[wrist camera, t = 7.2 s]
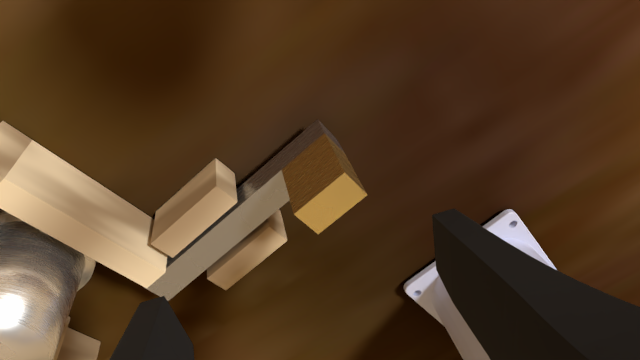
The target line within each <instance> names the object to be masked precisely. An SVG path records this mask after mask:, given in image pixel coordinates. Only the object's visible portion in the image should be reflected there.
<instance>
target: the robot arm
mask: <svg viewBox="0 0 640 360" xmlns="http://www.w3.org/2000/svg"><path fill="white" fill-rule="evenodd" d="M432 219H433V233H434V246H435V260H436V261H435V262H433V263H432V264H430V265H429V266H428V267H426V268H425V269H424V270H422V271H421V272H419V273H418V274H417V275H415V276H414V277H413V278H411V279H410V280H408V281H407V282H406V283H405V284H404V290H405V292H406V294H407V295H408V296H410V297H411V298H412V299H413V300H414V301H415V302H417V303H418V304H419V305H420V306H421V307H422V308H424V309H425V310H426V311H427V312H428V313H429V314H431V315H432V316H433V317H434V318H435V319H436V320H438V321H439V322H440V323H441V324H442V325H443V326H445V328H446V330H447V332H448V333H449V335H450V337H451V339H452V341H453V342H454V344H455V346H456V348H457V349H458V351H459V353H460V355H461V357H462V358H463V360H640V307H638V306H635V305H633V304H630V303H628V302H625V301H623V300H620V299H618V298H615V297H613V296H611V295H608V294H606V293H604V292H602V291H599V290H597V289H595V288H593V287H590V286H588V285H586V284H584V283H581V282H579V281H577V280H575V279H573V278H571V277H569V276H567V275H565V274H563V273H561V272H559V271H557V269H556V268H555V267H554V265H553V264H552V262H551V261H550V260H549V258H548V257H547V255H546V254H545V253H544V251H543V250H542V248H541V247H540V246H539V244H538V243H537V242H536V240H535V239H534V237H533V236H532V235H531V233H530V232H529V230H528V229H527V228H526V226H525V225H524V223H523V222H522V221H521V219H520V218H519V216H518V215H517V214H516V213H515V212H514V211H513V210H511V209H508V210H505V211H503V212H502V213H500V214H499V215H498V216H496V217H495V218H493V219H492V220H491V221H489V222H488V223H487V224H485V225H484V226H481V225H479V224H477V223H476V222H474V221H473V220H471V219H470V218H468V217H467V216H465V215H464V214H462V213H460V212H459V211H457V210H455V209H451V210H448V211H444V212H441V213H438V214H434V215H432ZM110 360H194V350H193V344H192V342H191V340H190V339H189V337H188V335H187V334H186V332H185V330H184V329H183V327H182V325H181V323H180V322H179V320H178V318H177V317H176V315H175V313H174V312H173V310H172V308H171V307H170V305H169V303H168V301H167V300H166V298H165V296H162V297H159V298H155V299H152V300H149V301H145V302H142V303H140V305H139V307H138V308H137V310H136V312H135V314H134V315H133V317H132V319H131V321H130V323H129V325H128V327H127V328H126V330H125V332H124V334H123V336H122V338H121V340H120V341H119V343H118V345H117V347H116V349H115V351H114V353H113V354H112V356H111V358H110Z"/></svg>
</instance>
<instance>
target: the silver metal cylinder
mask: <svg viewBox="0 0 640 360" xmlns="http://www.w3.org/2000/svg"><path fill="white" fill-rule="evenodd" d="M96 262H97V261H96V260H94V259H92V258H90V257H88V256H86V255H85V254H83V253H81V252H79V251H77V250H75V249H74V248H72V247H70V246H68V245H66V244H64V243H63V242H61V241H59V240H57V239H55V238H53V237H52V236H50V235H48V234H46V233H44V232H42V231H41V230H39V229H37V228H35V227H33V226H31V225H30V224H28V223H26V222H24V221H22V220H20V219H19V218H17V217H15V216H13V215H11V214H9V213H8V212H6V211H4V210H2V209H0V360H53V359H54V356H55V353H56V350H57V347H58V344H59V342H60V339H61V336H62V333H63V330H64V327H65V324H66V321H67V318H68V316H69V313H70V310H71V307H72V304H73V301H74V298H75V295H76V292H77V291H78V290H79V289H81V288H82V287H83V286H84V285H85V284H86V283H87V282H88V281H89V279H90V278H91V276H92V274H93V271H94V268H95V265H96Z"/></svg>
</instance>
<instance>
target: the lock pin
mask: <svg viewBox="0 0 640 360" xmlns="http://www.w3.org/2000/svg"><path fill="white" fill-rule="evenodd" d="M236 192H237V203H236V204H235V205H234V206H233V207H231V208H230V209H229V210H228V211H227V212H226V213H224V214H223V215H222V216H221V217H220V218H219V219H217V220H216V221H215V222H214V223H213V224H212V225H210V226H209V227H208V228H207V229H206V230H205V231H203V232H202V233H201V234H200V235H199V236H198V237H196V238H195V239H194V240H193V241H192V242H191V243H189V244H188V245H187V246H186V247H185V248H184V249H182V250H181V251H180V252H179V253H178V254H177V255H176V256H174V257H173V258H172V257H171V256H169V255H167V264H166V273H164V274H163V275H162V276H161V277H160V278H159V279H157V280H156V281H155V282H154V283H153V284H152V285H150V286H149V287H148V288H145V287H144V288H145V289H147V290H149V291H151V292H153V293H155V294H156V295H158V296H160V297H162V296H165V298H166V300H167V301H169V300H170V299H171V298H172V297H174V296H175V295H176V294H177V293H178V292H180V291H181V290H182V289H183V288H184V287H186V286H187V285H188V284H189V283H190V282H192V281H193V280H194V279H195V278H196V277H198V276H199V275H200V274H201V273H202V272H204V271H205V270H206V269H207V268H208V267H210V266H211V265H212V264H213V263H214V262H216V261H217V260H218V259H219V258H220V257H222V256H223V255H224V254H225V253H226V252H228V251H229V250H230V249H231V248H232V247H234V246H235V245H236V244H237V243H238V242H240V241H241V240H242V239H243V238H244V237H246V236H247V235H248V234H249V233H250V232H252V231H253V230H254V229H255V228H256V227H258V226H259V225H260V224H261V223H262V222H264V221H265V220H266V219H267V218H268V217H270V216H271V215H272V214H273V213H274V212H276V211H277V210H278V209H279V208H280V207H282V206H283V205H284V204H285V203H287V202H288V201H289V200H290V202H291V206H292V209H293V213H294V215H295V216H297V217H298V218H299V219H300V220H301V221H303V222H304V223H305V224H306V225H307V226H309V227H310V228H311V229H312V230H314V231H315V232H316V233H317V234H319V233H320V232H322V231H323V230H324V229H325V228H327V227H328V226H329V225H330V224H332V223H333V222H334V221H335V220H337V219H338V218H339V217H340V216H342V215H343V214H344V213H345V212H347V211H348V210H349V209H350V208H352V207H353V206H354V205H355V204H357V203H358V202H359V201H361V200H362V199H363V198H364V197H366V196H367V193H366V191H365V190H364V188H363V186H362V184H361V182H360V181H359V179H358V177H357V175H356V173H355V171H354V170H353V168H352V166H351V164H350V162H349V160H348V159H347V157H346V155H345V153H344V151H343V150H342V148H341V146H340V144H339V142H338V140H337V139H336V138H335V137H334V136H333V135H332V134H331V133H330V132H329V131H328V129H327V128H326V127H325V126H324V125H323V124H322V123H321V122H320V121H319V120H318V119H317V120H316V121H315V122H314V123H313V124H311V125H310V126H309V127H308V128H307V129H306V130H304V131H303V132H302V133H301V134H300V135H299V136H298V137H296V138H295V139H294V140H293V141H292V142H291V143H289V144H288V145H287V146H286V147H285V148H284V149H283V150H281V151H280V152H279V153H278V154H277V155H276V156H274V157H273V158H272V159H271V160H270V161H269V162H268V163H266V164H265V165H264V166H263V167H262V168H261V169H260V170H258V171H257V172H256V173H255V174H254V175H253V176H251V177H250V178H249V179H248V180H247V181H246V182H245V183H243V184H242V185H241V186H240V187H239V188H238V189H236Z"/></svg>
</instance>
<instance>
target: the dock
mask: <svg viewBox="0 0 640 360" xmlns="http://www.w3.org/2000/svg"><path fill="white" fill-rule="evenodd" d="M236 203H237V192H236V182H235V173H233V172H232V171H231V170H230V169H229V168H227V167H226V166H225V165H224V164H222V163H221V162H220V161H219V160H218V159H216V158H215V159H214V160H213V161H212V162H210V163H209V164H208V165H207V166H206V167H205V168H204V169H203V170H202V171H200V172H199V173H198V174H197V175H196V176H195V177H194V178H193V179H192V180H190V181H189V182H188V183H187V184H186V185H185V186H184V187H183V188H182V189H180V190H179V191H178V192H177V193H176V194H175V195H174V196H173V197H172V198H170V199H169V200H168V201H167V202H166V203H165V204H164V205H163V206H162V207H160V208H159V209H158V210H157V211H156V214H155V220H154V219H153V218H151V217H150V216H148V215H147V214H145V213H144V212H142V211H140V210H139V209H137V208H136V207H134V206H133V205H131V204H130V203H128V202H127V201H125V200H124V199H122V198H121V197H119V196H117V195H116V194H114V193H113V192H111V191H110V190H108V189H107V188H105V187H104V186H102V185H101V184H99V183H98V182H96V181H94V180H93V179H91V178H90V177H88V176H87V175H85V174H84V173H82V172H81V171H79V170H78V169H76V168H75V167H73V166H71V165H70V164H68V163H67V162H65V161H64V160H62V159H61V158H59V157H58V156H56V155H55V154H53V153H52V152H50V151H48V150H47V149H45V148H44V147H42V146H41V145H39V144H38V143H36V142H35V141H33V140H32V139H30V138H29V137H27V136H25V135H24V134H22V133H21V132H19V131H18V130H16V129H15V128H13V127H12V126H10V125H9V124H7V123H6V122H4V121H2V122H1V123H0V209H2V210H4V211H6V212H8V213H9V214H11V215H13V216H15V217H17V218H19V219H20V220H22V221H24V222H26V223H28V224H30V225H31V226H33V227H35V228H37V229H39V230H41V231H42V232H44V233H46V234H48V235H50V236H52V237H53V238H55V239H57V240H59V241H61V242H63V243H64V244H66V245H68V246H70V247H72V248H74V249H75V250H77V251H79V252H81V253H83V254H85V255H86V256H88V257H90V258H92V259H94V260H96V261H97V262H99V263H101V264H103V265H105V266H107V267H108V268H110V269H112V270H114V271H116V272H117V273H119V274H121V275H123V276H125V277H127V278H128V279H130V280H132V281H134V282H136V283H138V284H139V285H141V286H143V287H145V288H148V287H149V286H150V285H152V284H153V283H154V282H155V281H156V280H157V279H159V278H160V277H161V276H162V275H163V274H164V273H166V264H167V255H169V256H171V257H172V258H173V257H174V256H176V255H177V254H178V253H179V252H180V251H181V250H182V249H184V248H185V247H186V246H187V245H188V244H189V243H191V242H192V241H193V240H194V239H195V238H196V237H198V236H199V235H200V234H201V233H202V232H203V231H205V230H206V229H207V228H208V227H209V226H210V225H212V224H213V223H214V222H215V221H216V220H217V219H219V218H220V217H221V216H222V215H223V214H224V213H226V212H227V211H228V210H229V209H230V208H231V207H233V206H234V205H235V204H236ZM286 241H287V237H286V233H285V228H284V224H283V220H282V216H281V212H280V210H279V209H278V210H277V211H276V212H274V213H273V214H272V215H271V216H270V217H268V218H267V219H266V220H265V221H264V222H262V223H261V224H260V225H259V226H258V227H256V228H255V229H254V230H253V231H252V232H250V233H249V234H248V235H247V236H246V237H244V238H243V239H242V240H241V241H240V242H238V243H237V244H236V245H235V246H234V247H232V248H231V249H230V250H229V251H228V252H226V253H225V254H224V255H223V256H222V257H220V258H219V259H218V260H217V261H216V262H214V263H213V264H212V265H211V266H210V267H208V268H207V279H208V280H210V281H211V282H213V283H215V284H216V285H218V286H219V287H221V288H223V289H224V290H227V289H228V288H229V287H231V286H232V285H233V284H234V283H236V282H237V281H238V280H239V279H241V278H242V277H243V276H244V275H246V274H247V273H248V272H249V271H250V270H252V269H253V268H254V267H255V266H257V265H258V264H259V263H260V262H262V261H263V260H264V259H265V258H267V257H268V256H269V255H270V254H271V253H273V252H274V251H275V250H276V249H278V248H279V247H280V246H281V245H283V244H284V243H285V242H286ZM70 318H71V317H69V316H68V318H67V321H66V324H65V327H64V330H63V333H62V336H61V339H60V342H59V344H58V347H57V350H56V353H55V356H54V359H53V360H97V356H98V351H99V347H100V343H101V342H100V341H98V340H95V339H93V338H91V337H88V336H86V335H84V334H82V333H79V332H77V331H75V330H73V329H70V328H68V324H69V321H70Z"/></svg>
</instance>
